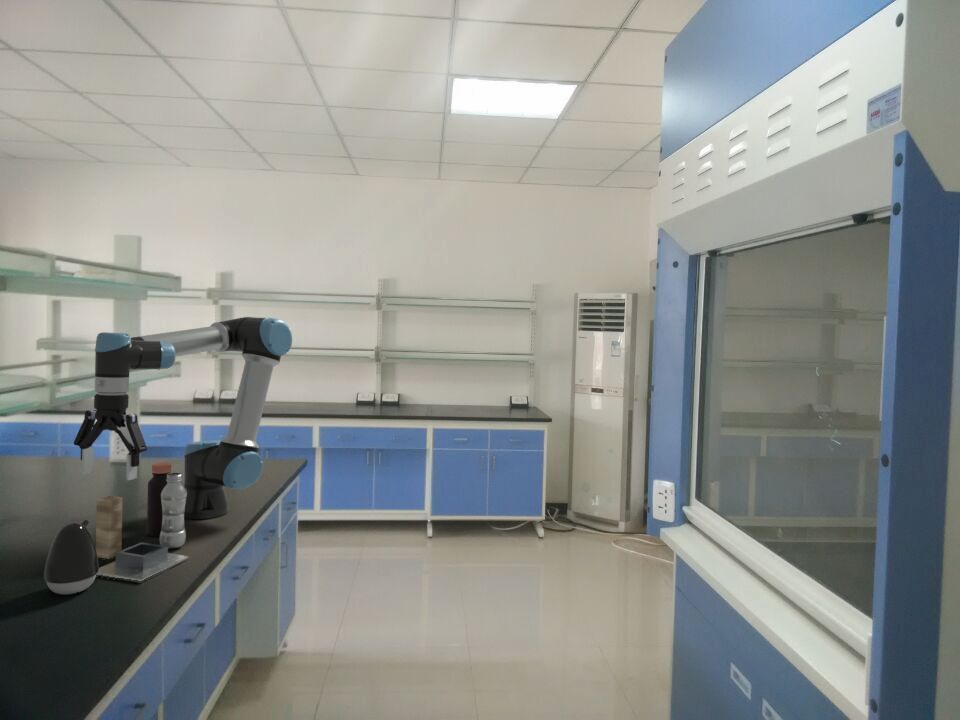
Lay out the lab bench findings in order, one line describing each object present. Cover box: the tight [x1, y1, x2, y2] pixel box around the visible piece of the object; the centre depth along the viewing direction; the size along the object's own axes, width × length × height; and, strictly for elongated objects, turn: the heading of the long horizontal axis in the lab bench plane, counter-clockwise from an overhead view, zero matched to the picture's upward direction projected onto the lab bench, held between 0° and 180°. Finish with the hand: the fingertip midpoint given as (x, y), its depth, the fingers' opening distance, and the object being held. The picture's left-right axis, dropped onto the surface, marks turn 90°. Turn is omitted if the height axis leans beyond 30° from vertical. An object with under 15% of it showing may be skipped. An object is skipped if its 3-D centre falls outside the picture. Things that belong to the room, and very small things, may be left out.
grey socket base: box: [96, 541, 190, 581], centre depth 153 cm, size 16×14×4 cm
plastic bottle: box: [159, 472, 187, 550], centre depth 167 cm, size 6×7×20 cm
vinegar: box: [146, 462, 172, 537], centre depth 177 cm, size 7×7×20 cm
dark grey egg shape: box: [43, 519, 100, 596], centre depth 139 cm, size 10×10×15 cm
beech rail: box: [95, 495, 123, 559], centre depth 159 cm, size 4×4×15 cm
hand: (109, 476), depth 158 cm, fingers open, 13 cm apart
